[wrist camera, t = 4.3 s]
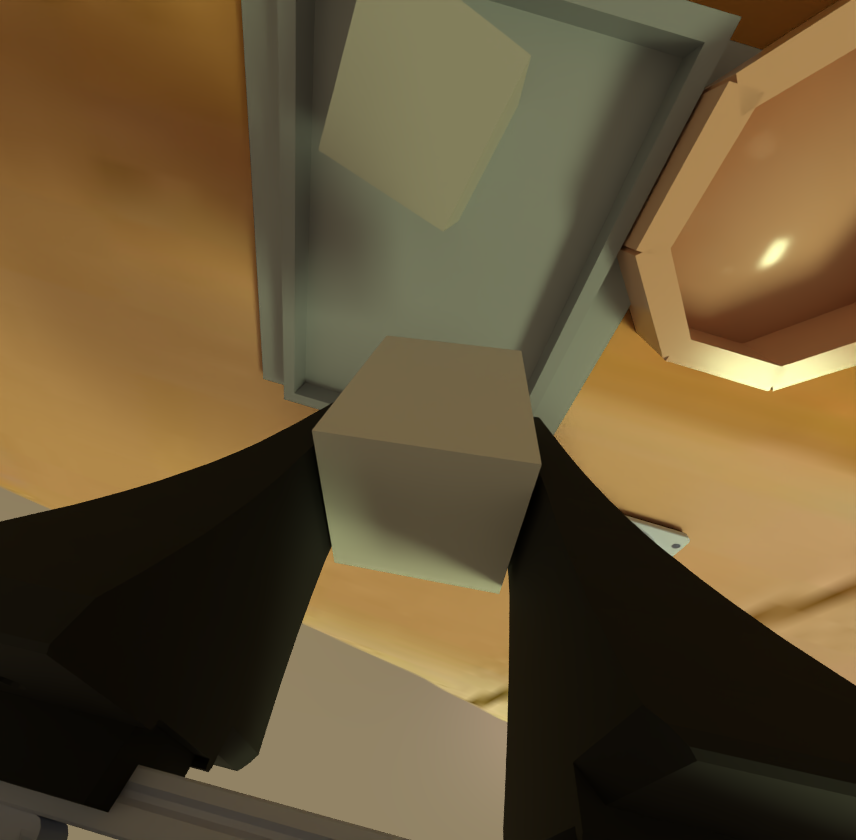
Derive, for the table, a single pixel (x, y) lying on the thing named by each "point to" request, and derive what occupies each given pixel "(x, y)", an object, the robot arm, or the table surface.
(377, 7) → the beige square block
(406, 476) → the sage green cube
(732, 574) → the table surface
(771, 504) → the table surface
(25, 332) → the table surface
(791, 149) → the bowl
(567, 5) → the parts tray
